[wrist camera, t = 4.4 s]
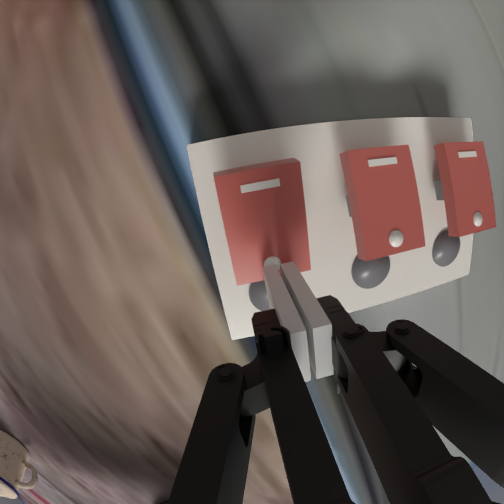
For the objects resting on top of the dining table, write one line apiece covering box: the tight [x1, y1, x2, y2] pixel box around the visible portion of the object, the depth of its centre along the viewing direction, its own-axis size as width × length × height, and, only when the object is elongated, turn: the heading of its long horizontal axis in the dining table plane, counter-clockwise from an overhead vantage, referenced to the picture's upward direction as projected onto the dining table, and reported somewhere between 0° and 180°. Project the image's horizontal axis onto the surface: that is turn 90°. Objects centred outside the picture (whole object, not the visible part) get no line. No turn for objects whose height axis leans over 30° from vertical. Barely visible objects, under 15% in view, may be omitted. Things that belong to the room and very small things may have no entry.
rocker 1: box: [213, 158, 311, 286], centre depth 18 cm, size 4×6×3 cm
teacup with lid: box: [0, 430, 38, 499], centre depth 25 cm, size 12×9×12 cm
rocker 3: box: [434, 142, 496, 237], centre depth 18 cm, size 4×6×3 cm
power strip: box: [187, 117, 473, 340], centre depth 22 cm, size 22×14×3 cm, turn 100°
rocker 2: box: [339, 145, 425, 261], centre depth 18 cm, size 4×6×3 cm
